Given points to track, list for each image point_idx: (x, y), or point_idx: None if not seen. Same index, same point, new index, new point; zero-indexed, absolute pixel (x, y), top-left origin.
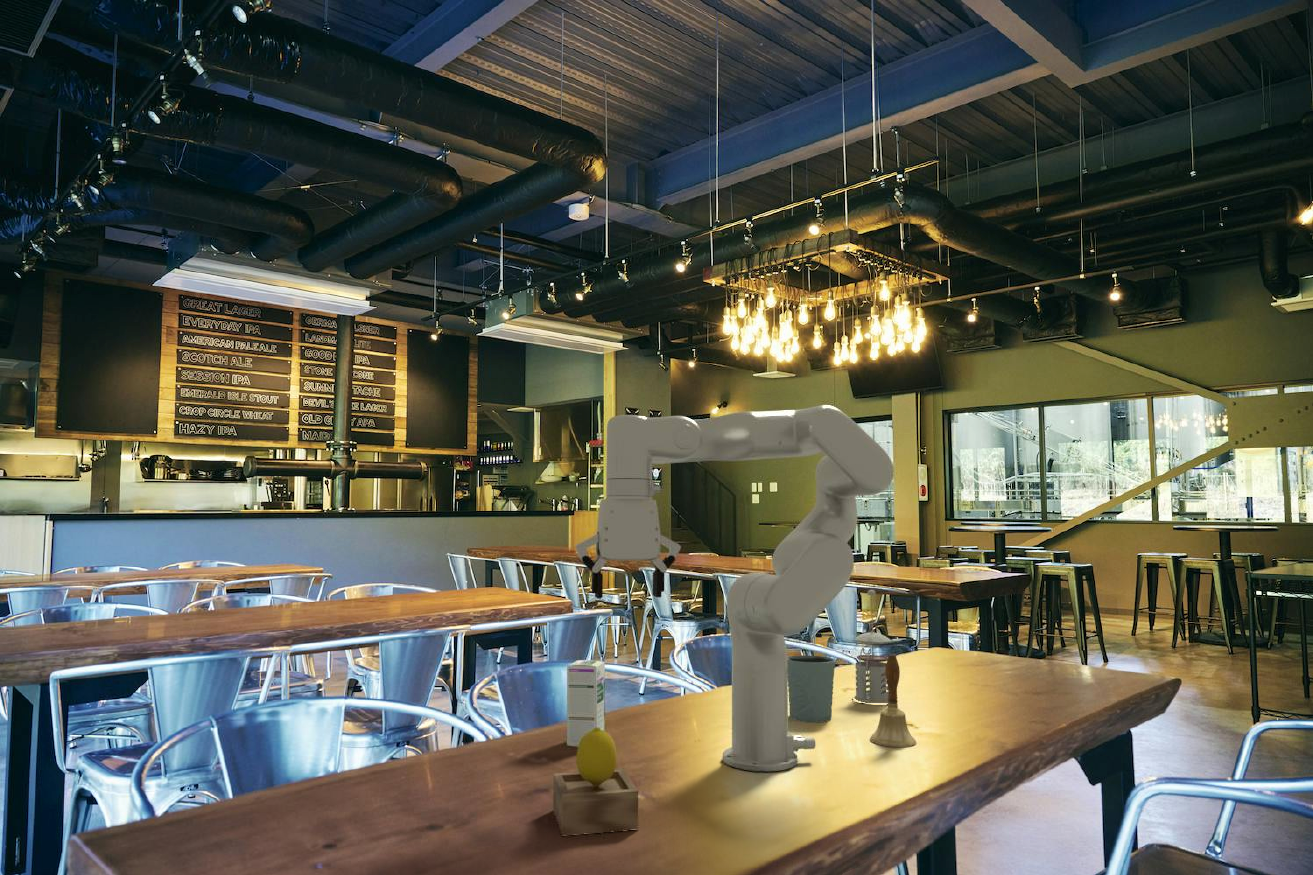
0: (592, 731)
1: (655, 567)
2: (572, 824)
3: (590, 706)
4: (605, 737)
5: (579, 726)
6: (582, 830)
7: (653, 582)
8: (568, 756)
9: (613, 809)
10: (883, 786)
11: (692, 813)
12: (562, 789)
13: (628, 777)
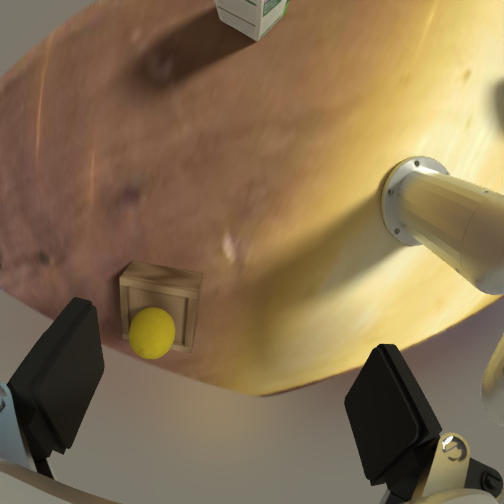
0: (139, 351)
1: (423, 467)
2: None
3: (249, 16)
4: (154, 358)
5: (233, 19)
6: None
7: (389, 401)
8: (203, 65)
9: None
10: (442, 309)
11: (259, 315)
12: (123, 323)
13: (194, 318)
